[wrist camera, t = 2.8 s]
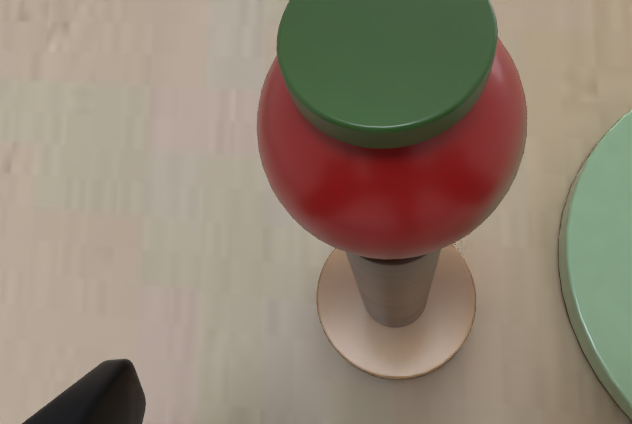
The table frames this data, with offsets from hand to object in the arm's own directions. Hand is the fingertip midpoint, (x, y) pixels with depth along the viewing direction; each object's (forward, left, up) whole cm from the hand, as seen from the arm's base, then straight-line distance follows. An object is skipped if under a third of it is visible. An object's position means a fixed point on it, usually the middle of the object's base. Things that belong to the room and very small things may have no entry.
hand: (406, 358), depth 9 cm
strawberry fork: (+2, +1, -10) cm, 10 cm away
